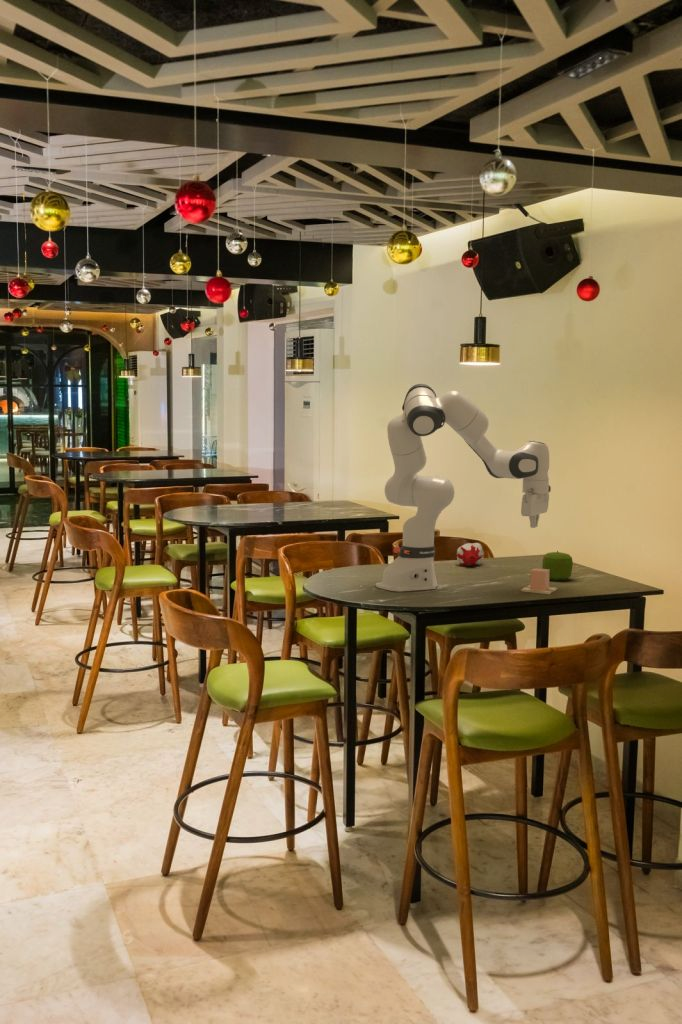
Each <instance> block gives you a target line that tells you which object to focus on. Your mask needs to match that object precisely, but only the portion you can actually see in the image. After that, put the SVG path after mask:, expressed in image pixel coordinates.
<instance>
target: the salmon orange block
mask: <svg viewBox="0 0 682 1024" xmlns="http://www.w3.org/2000/svg"><path fill="white" fill-rule="evenodd" d="M529 571H530V575H529V585H530V589H533V590H543V591H545V590H547V589H548V588H549V587H550V580H549V569H542V568H533V569H530V570H529Z"/></svg>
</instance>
